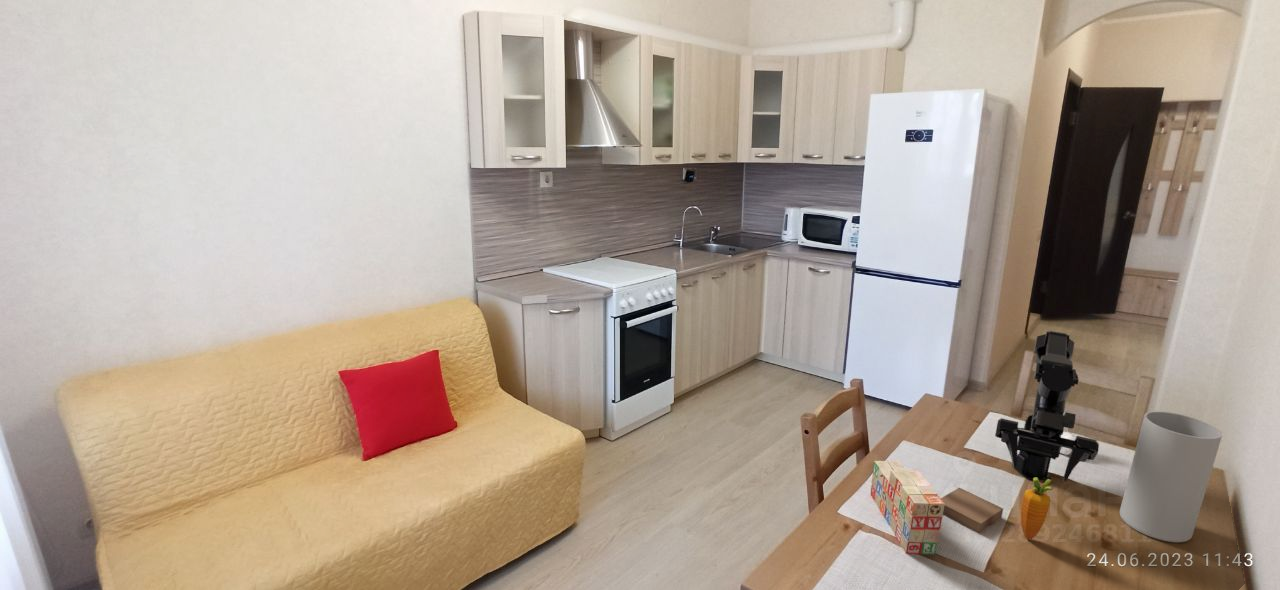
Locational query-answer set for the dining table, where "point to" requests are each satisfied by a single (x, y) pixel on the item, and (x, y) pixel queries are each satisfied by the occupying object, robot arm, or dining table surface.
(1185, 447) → the cylinder vase
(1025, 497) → the carrot
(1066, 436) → the bust
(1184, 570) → the dining table surface
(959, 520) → the walnut plinth
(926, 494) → the stack of blocks
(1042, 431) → the robot arm
